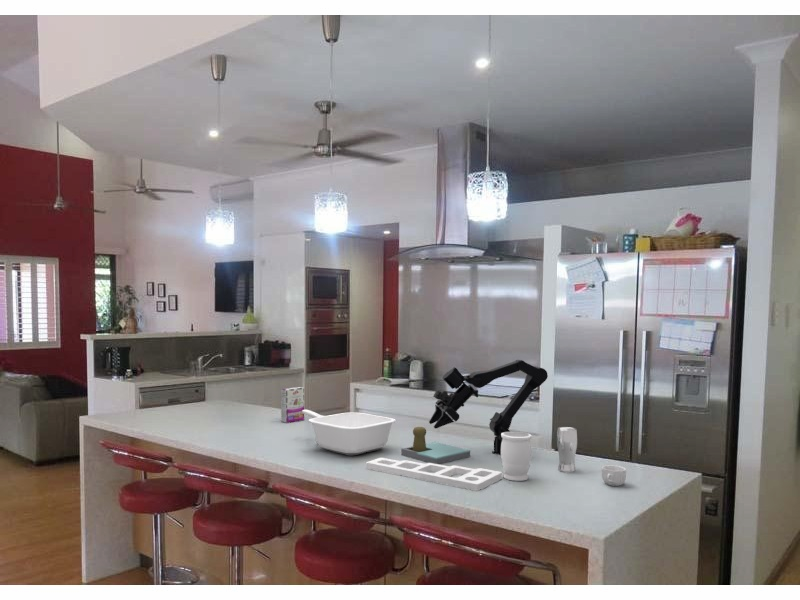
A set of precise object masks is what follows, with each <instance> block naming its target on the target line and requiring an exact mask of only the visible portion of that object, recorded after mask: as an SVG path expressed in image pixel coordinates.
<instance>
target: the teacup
mask: <svg viewBox="0 0 800 600" xmlns="http://www.w3.org/2000/svg"><path fill="white" fill-rule="evenodd" d="M601 478H602V480H603V482H604V483H605V484H606V485H608V484H609V485H608V486H610V485H614V486H613V487H620V486H622V485H624V484H625V481H626V480H627V479H626V478H627V468H626V467H624V466H622V465H621V466H619V465H616V464H615V465H611V464H607V465H602V467H601ZM619 485H620V486H619Z"/></svg>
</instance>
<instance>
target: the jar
mask: <svg viewBox="0 0 800 600" xmlns="http://www.w3.org/2000/svg"><path fill="white" fill-rule="evenodd" d="M501 437H502V438H503V439H502V443H501V455H500V457H501V465H502V470H503V472H504V473H503V475H502V478H504V479H505V480H508V481H511V482H512V481H513V482H523V481H527V480H528V479H529V476H528V472H529V469H530V466H531V460H532V443H531V439H532V434H530V433H528V432H522V431H510V432H503V433H501Z"/></svg>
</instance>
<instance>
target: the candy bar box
mask: <svg viewBox="0 0 800 600" xmlns="http://www.w3.org/2000/svg"><path fill="white" fill-rule="evenodd" d="M280 394H281V395H280V396H281V397H280V400H281V401H280V403H281V404H280V406H281V407H280V413H281V418H280V419H281V420H280V421H281V423H284V424H285V423H286V424H289V422H290V423H295V422H294V421H296V422H300V421H299V420H302V421H304V420H305V414H303V413H302V410H305V387H301V386H296V387H287V388H282V389H280Z"/></svg>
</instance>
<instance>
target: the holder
mask: <svg viewBox="0 0 800 600" xmlns="http://www.w3.org/2000/svg"><path fill="white" fill-rule="evenodd" d="M365 465H366V466H365V469H366V468H367V470H371V469H373V470H372V471H376V470H377V472H380V471H382V472H381V473H385V472H387V473H386V474H390V473H392V475H395V474H397V475H396V476H400V475H402V476H401V477H405V476H408V477H407V478H410V477H412V478H411V479H415V478H417V479H416V480H420V479H422V480H421V481H425V480H427V481H426V482H430V481H433V482H432V483H435V482H438V483H437V484H440V483H442V484H441V485H445V484H448V485H447V486H449V485H452V486H451V487H454V486H457V487H456V488H459V487H460V489H464V488H466V489H465V490H469V489H471V491H474V490H475V491H476V492H479V491H481V490H483V489H485V488H486V487H488V486H491V485H493V484H494V483H497V482H498V481H501V480H503V472H502V471H497V470H493V469H487V468H481V467H478V468H471V467H465V466H460V465H453V464H452V465H451V466H450V465H449V466H448V465H443V464H434V463H429V462H426V463H423V462H422V463H421V462H417V461H412V460H407V459H402V460H397V459H396V460H395V459H392V458H386V457H378V458H375V459H372V460H369V461H366V464H365ZM407 468H409V469H407ZM428 471H429V472H428ZM433 471H435V472H433ZM453 474H454V475H459V476H457V477H452V476H454V475H453ZM451 475H452V476H451ZM449 476H450V477H449ZM500 479H501V480H500ZM480 489H481V490H480ZM478 490H479V491H478Z"/></svg>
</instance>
